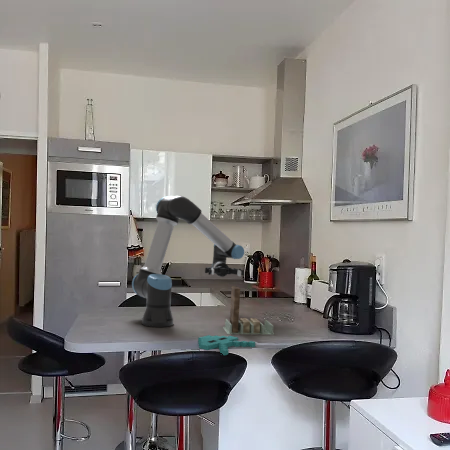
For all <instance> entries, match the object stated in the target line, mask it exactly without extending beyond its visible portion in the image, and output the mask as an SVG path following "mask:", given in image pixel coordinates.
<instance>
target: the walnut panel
mask: <svg viewBox="0 0 450 450" xmlns="http://www.w3.org/2000/svg"><path fill="white" fill-rule="evenodd" d="M230 293H231V294H230V296H231V297H230V312H229V313H230V316H229V317H230V318H229V322H230V323H231V325H232V332H233V333H238V323H239V321H240V302H241V301H240V300H241V288H240V287H239V286H237V285H235V286H234V285H232V286H231V292H230Z"/></svg>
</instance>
